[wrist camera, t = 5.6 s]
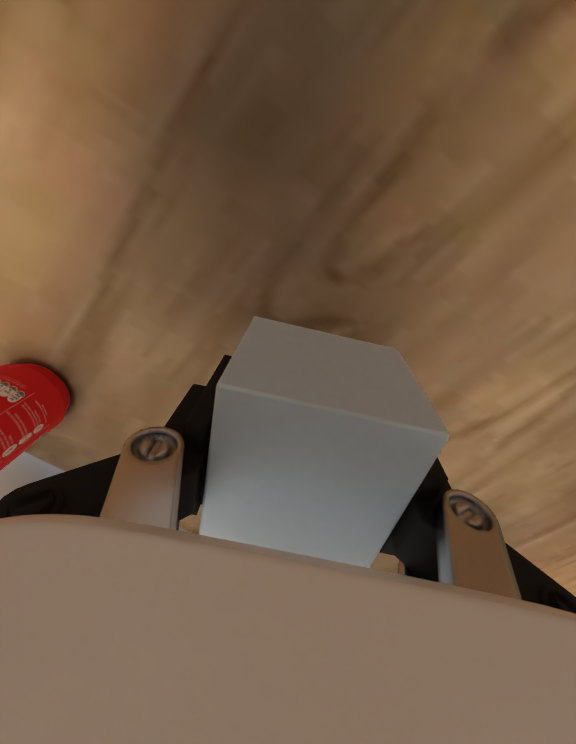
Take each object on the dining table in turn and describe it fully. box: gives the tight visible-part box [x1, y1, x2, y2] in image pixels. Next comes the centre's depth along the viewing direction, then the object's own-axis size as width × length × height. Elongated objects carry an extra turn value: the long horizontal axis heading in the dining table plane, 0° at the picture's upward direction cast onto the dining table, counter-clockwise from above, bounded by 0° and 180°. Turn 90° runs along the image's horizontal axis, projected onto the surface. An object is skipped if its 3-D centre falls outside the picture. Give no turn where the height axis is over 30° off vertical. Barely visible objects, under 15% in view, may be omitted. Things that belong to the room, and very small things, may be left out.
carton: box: [199, 316, 449, 568], centre depth 10 cm, size 6×5×4 cm
